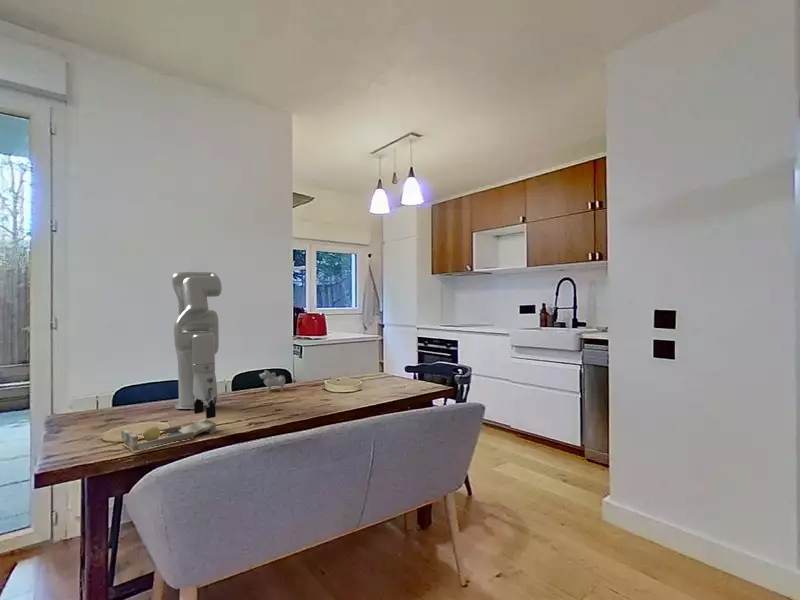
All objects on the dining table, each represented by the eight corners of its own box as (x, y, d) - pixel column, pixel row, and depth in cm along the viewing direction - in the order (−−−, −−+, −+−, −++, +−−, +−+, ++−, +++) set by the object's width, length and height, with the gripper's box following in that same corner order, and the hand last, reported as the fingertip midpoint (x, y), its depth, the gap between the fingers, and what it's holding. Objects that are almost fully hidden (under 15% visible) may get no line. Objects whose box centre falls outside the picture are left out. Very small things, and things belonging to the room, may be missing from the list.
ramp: (205, 427, 172) (204, 418, 172) (216, 432, 166) (216, 423, 166) (177, 433, 165) (177, 424, 165) (187, 439, 159) (187, 429, 159)
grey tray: (121, 445, 154) (121, 430, 154) (179, 432, 167) (179, 418, 167) (134, 453, 145) (133, 437, 145) (194, 439, 159) (193, 424, 159)
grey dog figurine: (260, 390, 237) (259, 369, 237) (285, 389, 239) (285, 368, 239) (258, 392, 232) (258, 371, 232) (285, 391, 234) (284, 370, 234)
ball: (159, 428, 159) (147, 422, 156) (166, 431, 156) (153, 425, 152) (150, 441, 157) (137, 436, 154) (156, 445, 154) (143, 440, 150)
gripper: (225, 369, 164) (226, 417, 165) (203, 364, 176) (204, 409, 176) (204, 372, 159) (205, 422, 159) (183, 366, 171) (184, 413, 171)
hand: (204, 415), depth 168 cm, fingers open, 9 cm apart
